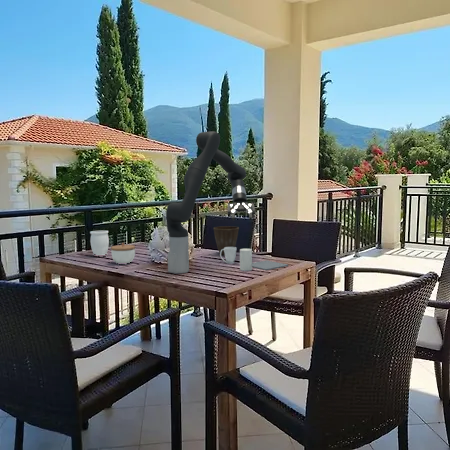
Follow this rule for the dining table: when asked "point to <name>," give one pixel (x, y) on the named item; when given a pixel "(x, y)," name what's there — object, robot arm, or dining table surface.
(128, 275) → the dining table surface
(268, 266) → the rubber mat
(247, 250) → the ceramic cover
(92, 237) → the jar
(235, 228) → the plant pot
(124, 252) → the lidded bowl
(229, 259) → the cup
